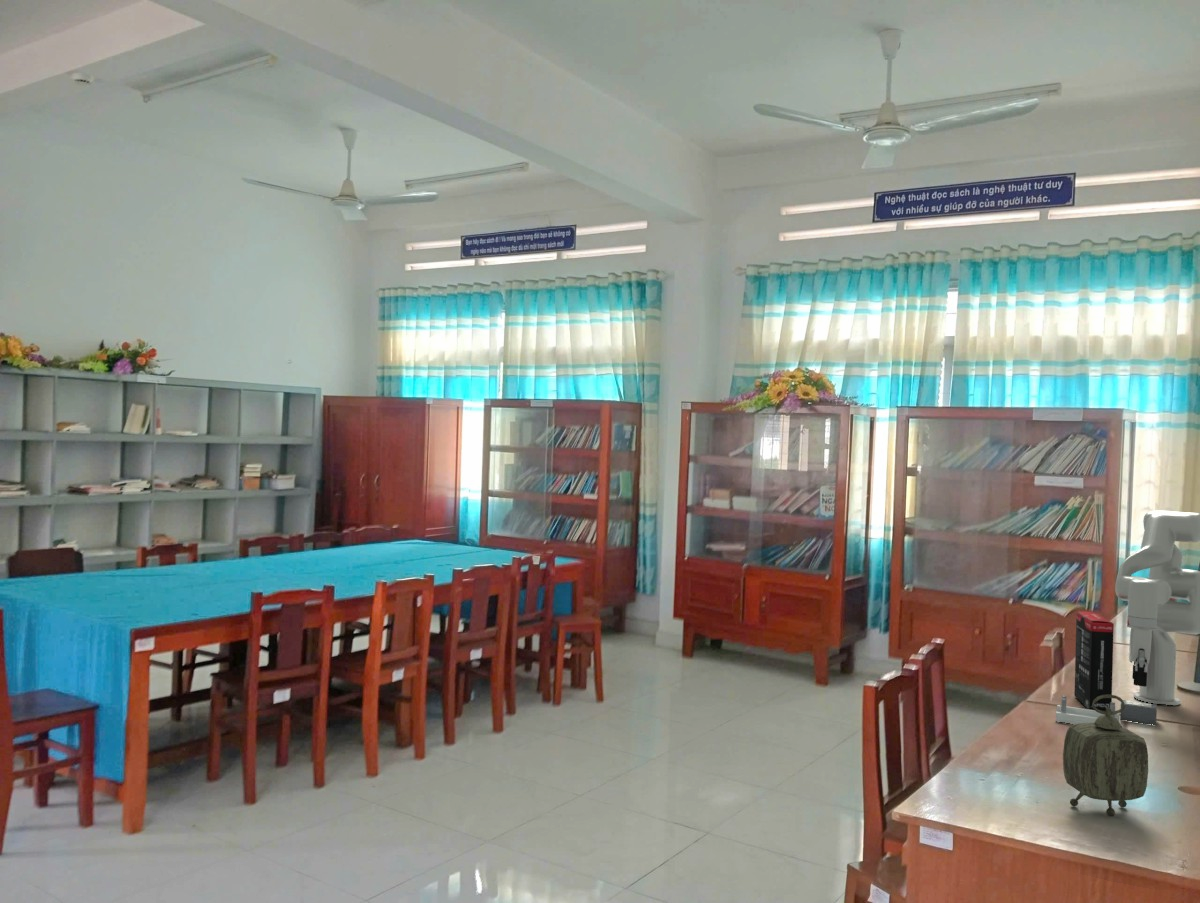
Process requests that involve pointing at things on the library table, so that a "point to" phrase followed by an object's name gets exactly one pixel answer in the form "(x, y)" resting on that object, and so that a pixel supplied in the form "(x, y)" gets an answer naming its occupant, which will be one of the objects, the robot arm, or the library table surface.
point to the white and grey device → (1078, 713)
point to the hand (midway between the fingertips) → (1139, 682)
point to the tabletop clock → (1105, 759)
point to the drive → (1139, 712)
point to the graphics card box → (1093, 659)
